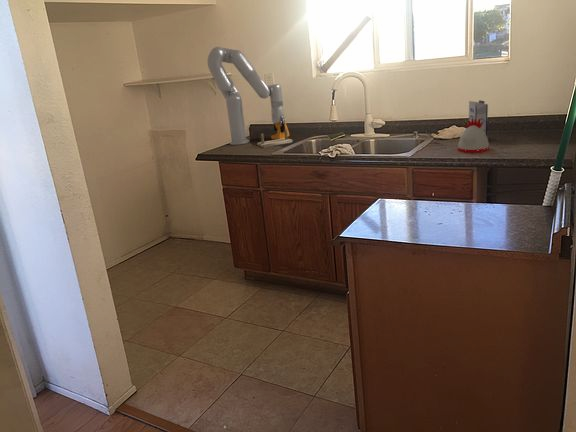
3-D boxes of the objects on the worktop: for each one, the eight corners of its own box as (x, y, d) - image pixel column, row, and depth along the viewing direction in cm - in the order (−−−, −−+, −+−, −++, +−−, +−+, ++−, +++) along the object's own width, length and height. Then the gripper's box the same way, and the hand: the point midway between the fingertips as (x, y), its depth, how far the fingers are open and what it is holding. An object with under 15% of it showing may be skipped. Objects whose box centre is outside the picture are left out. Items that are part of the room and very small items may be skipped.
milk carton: (468, 139, 258) (468, 100, 252) (480, 137, 258) (481, 99, 252) (474, 141, 251) (475, 101, 245) (486, 139, 252) (488, 100, 245)
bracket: (280, 136, 322) (278, 118, 318) (289, 137, 318) (287, 118, 314) (270, 140, 314) (268, 121, 310) (280, 140, 310) (278, 121, 306)
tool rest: (257, 145, 301) (256, 133, 298) (285, 140, 308) (284, 128, 305) (264, 147, 292) (262, 134, 290) (292, 142, 299) (291, 129, 297)
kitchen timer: (481, 154, 225) (482, 121, 220) (453, 152, 234) (453, 120, 229) (493, 147, 234) (494, 116, 229) (465, 146, 243) (465, 115, 238)
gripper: (266, 104, 315) (269, 131, 320) (277, 106, 300) (280, 133, 305) (276, 103, 318) (279, 129, 323) (288, 104, 303) (290, 131, 308)
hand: (279, 131), depth 314 cm, fingers open, 9 cm apart
